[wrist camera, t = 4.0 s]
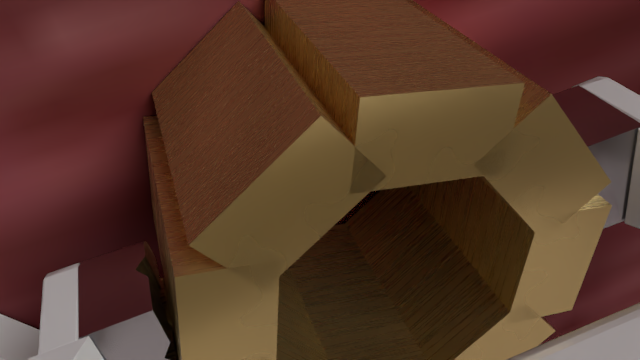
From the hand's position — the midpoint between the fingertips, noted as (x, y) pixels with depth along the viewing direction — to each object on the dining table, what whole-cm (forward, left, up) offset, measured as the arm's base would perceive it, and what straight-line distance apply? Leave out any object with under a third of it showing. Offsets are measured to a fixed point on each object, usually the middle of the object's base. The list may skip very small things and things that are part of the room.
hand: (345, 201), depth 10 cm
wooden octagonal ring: (0, 0, -2) cm, 2 cm away
